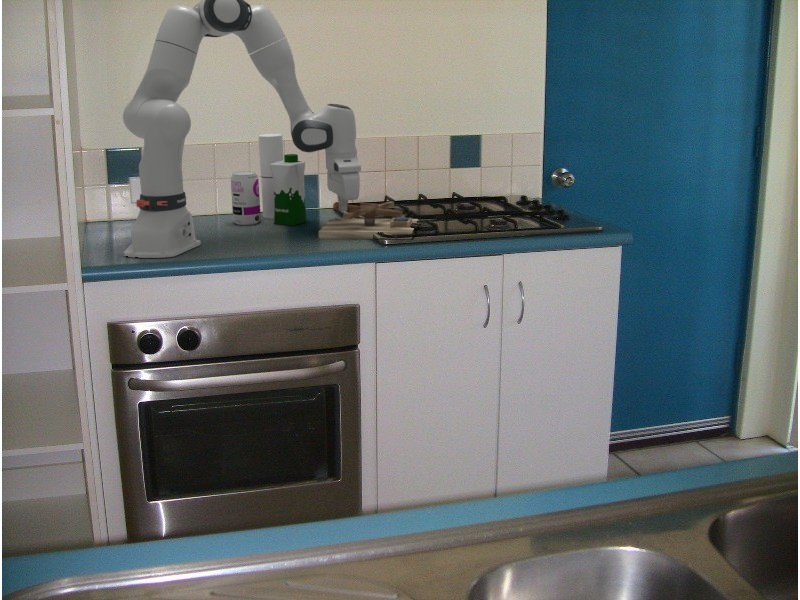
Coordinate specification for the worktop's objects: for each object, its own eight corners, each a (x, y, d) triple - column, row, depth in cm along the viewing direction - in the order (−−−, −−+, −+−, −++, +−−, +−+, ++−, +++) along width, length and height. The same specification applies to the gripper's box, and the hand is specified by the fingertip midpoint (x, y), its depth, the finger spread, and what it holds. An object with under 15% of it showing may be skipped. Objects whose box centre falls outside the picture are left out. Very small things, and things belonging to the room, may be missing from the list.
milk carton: (310, 220, 278) (307, 154, 272) (293, 226, 270) (290, 158, 264) (286, 218, 282) (283, 153, 276) (269, 224, 274) (265, 157, 268)
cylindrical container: (266, 219, 281) (262, 137, 274) (260, 215, 287) (255, 134, 280) (289, 217, 283) (285, 135, 276) (282, 213, 290) (278, 133, 283)
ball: (405, 226, 258) (405, 216, 258) (395, 226, 259) (395, 216, 258) (406, 224, 261) (406, 214, 260) (396, 224, 262) (396, 213, 261)
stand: (412, 239, 252) (411, 223, 250) (318, 238, 254) (318, 222, 253) (418, 225, 269) (418, 210, 267) (330, 224, 272) (330, 209, 270)
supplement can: (263, 220, 280) (260, 171, 276) (257, 225, 272) (254, 175, 268) (237, 219, 281) (234, 171, 276) (230, 225, 273) (226, 175, 269)
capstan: (377, 226, 245) (377, 214, 245) (309, 217, 259) (309, 205, 258) (423, 212, 263) (423, 201, 262) (357, 204, 276) (357, 193, 275)
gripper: (321, 158, 267) (323, 205, 271) (340, 167, 249) (342, 217, 253) (341, 157, 269) (343, 203, 273) (362, 166, 251) (364, 216, 255)
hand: (343, 210), depth 263 cm, fingers closed
